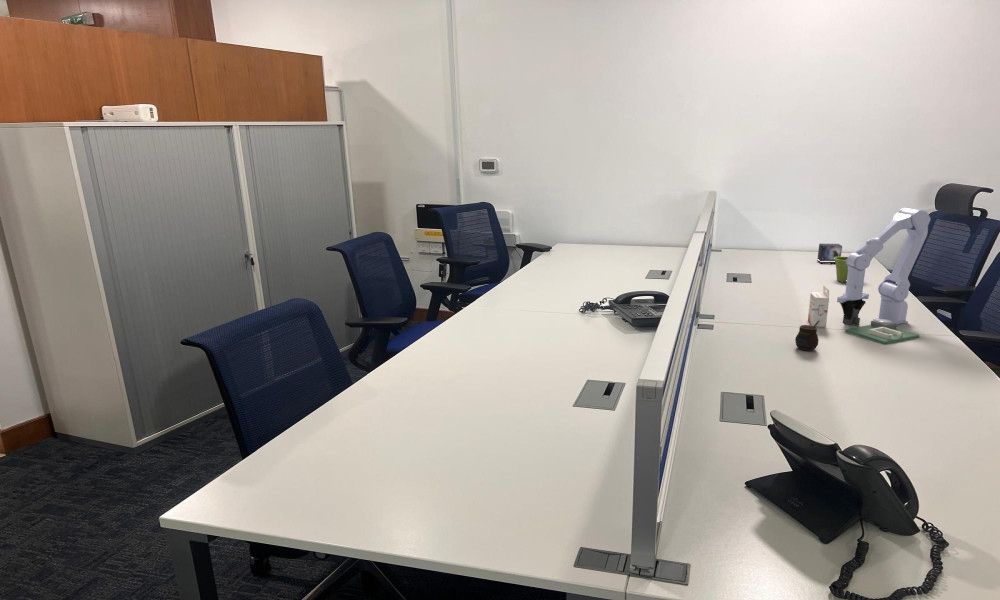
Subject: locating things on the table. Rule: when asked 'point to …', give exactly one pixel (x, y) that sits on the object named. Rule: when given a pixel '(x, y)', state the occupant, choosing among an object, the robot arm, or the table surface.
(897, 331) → the board
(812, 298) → the ink cartridge box
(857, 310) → the plug
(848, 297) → the robot arm
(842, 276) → the plant pot
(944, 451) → the table surface
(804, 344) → the mate gourd
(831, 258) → the small box
